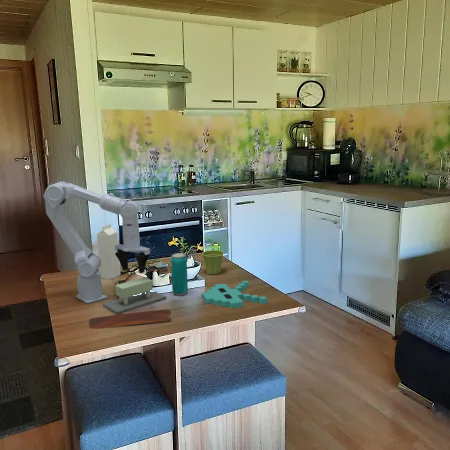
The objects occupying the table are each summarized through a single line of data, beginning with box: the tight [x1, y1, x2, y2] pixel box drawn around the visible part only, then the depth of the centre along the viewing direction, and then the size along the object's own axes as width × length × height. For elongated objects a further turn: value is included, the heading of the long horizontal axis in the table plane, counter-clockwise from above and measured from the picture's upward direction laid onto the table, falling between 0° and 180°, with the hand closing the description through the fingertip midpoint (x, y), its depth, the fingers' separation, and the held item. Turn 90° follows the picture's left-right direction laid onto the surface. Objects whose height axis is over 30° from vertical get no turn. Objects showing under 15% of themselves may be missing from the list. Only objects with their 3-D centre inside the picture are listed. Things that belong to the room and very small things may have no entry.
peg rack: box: [102, 291, 167, 315], centre depth 161 cm, size 10×20×4 cm, turn 132°
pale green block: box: [114, 277, 154, 298], centre depth 160 cm, size 12×5×4 cm, turn 133°
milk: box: [96, 223, 121, 280], centre depth 189 cm, size 6×6×22 cm
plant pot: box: [201, 249, 225, 275], centre depth 193 cm, size 9×9×9 cm
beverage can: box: [170, 252, 189, 296], centre depth 168 cm, size 6×6×15 cm
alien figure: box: [201, 280, 268, 309], centre depth 165 cm, size 20×2×20 cm
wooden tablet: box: [88, 309, 172, 330], centre depth 148 cm, size 27×10×2 cm, turn 101°
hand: (133, 271), depth 165 cm, fingers open, 7 cm apart
